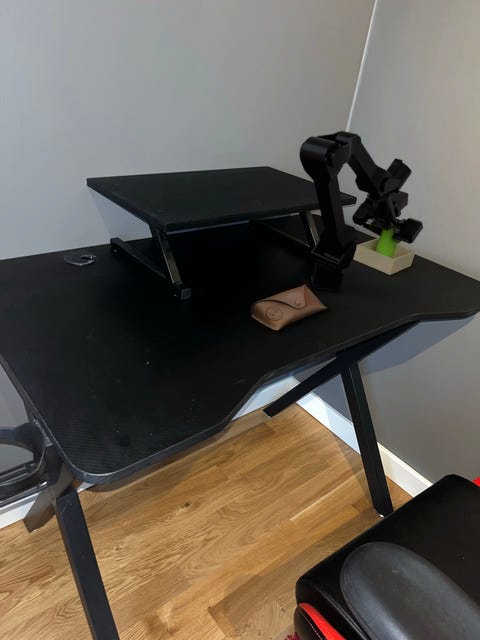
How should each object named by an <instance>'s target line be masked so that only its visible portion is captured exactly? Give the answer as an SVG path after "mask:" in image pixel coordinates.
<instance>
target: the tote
mask: <svg viewBox="0 0 480 640" xmlns="http://www.w3.org/2000/svg"><path fill="white" fill-rule="evenodd" d="M379 238H380V237H377V238H374V239H371V240H368V241H364V242H362V243H360V244H356V252H355V254H354V256H353V260H354V261H356V262H359V263H361V264H362V265H365V266H368V267H370V268H373V269H375V270H377V271H380V272H382V273H384V274H387V275H389V276H391V275H394V274H395V273H398V272H400V271H403V270H404V269H407V268H409V267H411V266H412V264H413V261H414V257H415V254H416V251H415V250H412V249H410V248H407V247H405V246H403V245H399V244H397V246H396V250H395V253H394V256H393V259H392V258H390V257H387V256H385V255H382V254H380V253H377V252H376V248H377V245H378V241H379Z"/></svg>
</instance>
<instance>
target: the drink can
mask: <svg viewBox="0 0 480 640" xmlns="http://www.w3.org/2000/svg"><path fill="white" fill-rule="evenodd" d="M398 219H399V220H401V219H400V218H398ZM395 229H396V228H394V227H393V229H392V230H390V229H388V231H386V230H384V229H382V230H381V234H380V236H379V237H378V238H379V241H378V245H377V248H376V252H377V253H380V254H382V255H385V256H387V257H390V258H392V259H393V256H394V253H395V250H396V246H397V245H398V243H397V242H396V241H395V240H393V239H392V236H393V235H394V233H395V232H396V230H395Z"/></svg>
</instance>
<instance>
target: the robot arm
mask: <svg viewBox="0 0 480 640" xmlns="http://www.w3.org/2000/svg"><path fill="white" fill-rule="evenodd" d="M298 155H299V161H300V163H301V166H302V169H303V171H304V172H305V173H306V174H307V176H308V177H309V178H310V179H311V180H312V182H313V183H314V188H315V192H316V197H317V202H318V207H319V211H320V216H321V221H322V225H323V231H322V232H321V233H320V235H319V240H318V242H317V243H316V244H315V245H314V247H313V248H312V249H311V251H310V259H311V260H312V261H314V262H315V264H314V269H313V274H312V276H311V277H310V281H311V285H312V289H313V290H317V291H324V292H325V291H327V292H334V293H335V292H336V293H339V292H340V288H341V286H342V285H341V284H342V282H343V277H344V273H345V272H344V270H345V269H348V268H349V267H350V265H351V263H352V261H353V259H354V255H355V252H356V247H357V240H358V237H357V230H356V228H355V226H352V225H349V224H347V223H346V219H345V214H344V207H343V202H342V195H341V188H340V183H339V174H340V172H341V170H342V169H343V167H344V165H346V164H347V165H348V166H349V168H350V169H351V171H352V172H353V173H354V175H355V176H356V177H355V179H354V182H355V185H356V187H357V189H358V190H359V191H360V192H363V193H366V197H365V199H364V201H363V202H362V203H360V204H359V206H358V207H357V209H356V210H355V211H354V212H353V214H352V216H351V220H352V222H353V224H355V225H358V226H360V227H362V228H363V229H366V230H368V231H369V232H371V233H373V234H375V235H376V236H378V237H380V234H381V230H382V229H384V230H386V231H388V229H390V230H392V229H393V227H394V228H396V229H395V230H396V232H395V233H394V235H393V236H392V239H393V240H395V241H396V242H397V245H399V244H400V243H401V242H403V243H406V244H408V245H411V244H413V243H414V242H415V240H416V239H417V238H418V236H419V235H420V233H421V232H422V230H423V229H424V224H423V221H421V220H419V219H416V218H413V217H408V218H407V219H406V218H402V219H400V217H401V215H402V210H403V209H405V208H406V207H408V205H409V193H408V192H405V191H402V190H401V189H402V188H403V186H404V185H405V183H407V180H408V179H409V178H410V176H411V175H412V169H411V168H410V167H409V166H408V165H407V164H406V163H405V162H403V161H404V160H403V159H400V158H396V157H395V158H394V159H393V160H392V162H391V163H390V165H389V166H388V167H387V169H385V168H383V167H381V166H379V165H378V164H376V163H375V161H374V159H373V157H372V156H371V154H370V153H369V151H368V150H367V148H366V147H365V145H364V143H363V142H362V137H361V136H360V135H359V134H358V133H354V132H350V131H345V130H340V131H339V130H337V131H336V132H334V133H329V134H328V133H327V134H321V135H316V136H313V135H311V136H308V137H307V139H306V140H305V141H304V142H302V144H301V145H300V148H299V153H298ZM399 219H400V220H399Z"/></svg>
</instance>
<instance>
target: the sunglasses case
mask: <svg viewBox="0 0 480 640" xmlns="http://www.w3.org/2000/svg"><path fill="white" fill-rule="evenodd" d="M326 309H328V306H325V305H324V304H323V303H322V302H321V300H320V299H319V298H318V297H317V296H316V295H315V294H314V292H312V291H311V289H310V288H309V287H308V286H307V284H306V283H305V284H302V285H301V286H298V287H295V288H291V289H289V290H285V291H283V292H280V293H277V294H274V295H272V296H269V297H267V298H264V299H259V300H257V301H256V302H254V303H252V305H251V306H250V310H249V312H250V316H251V318H253V319H254V320H255V321H257V322H258V323H259V324H262V325H263V326H265V327H267V328H269V329H271V330H273V331H280V330H282V329H283V328H285V327H287V326H289V325H291V324H293V323H295V322H298V321H300V320H302V319H305V318H307V317H310V316H312V315H315V314H317V313H319V312H323V311H325V310H326Z"/></svg>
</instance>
